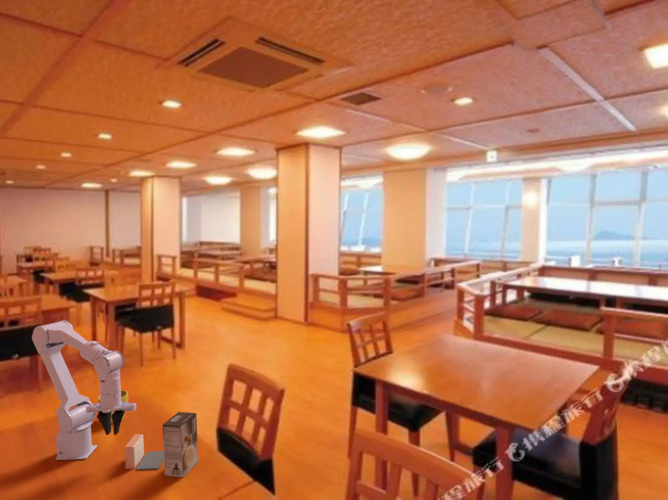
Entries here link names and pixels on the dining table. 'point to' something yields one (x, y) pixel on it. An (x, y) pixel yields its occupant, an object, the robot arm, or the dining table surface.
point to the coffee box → (180, 444)
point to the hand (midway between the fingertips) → (112, 433)
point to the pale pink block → (134, 451)
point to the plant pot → (123, 399)
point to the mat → (151, 460)
